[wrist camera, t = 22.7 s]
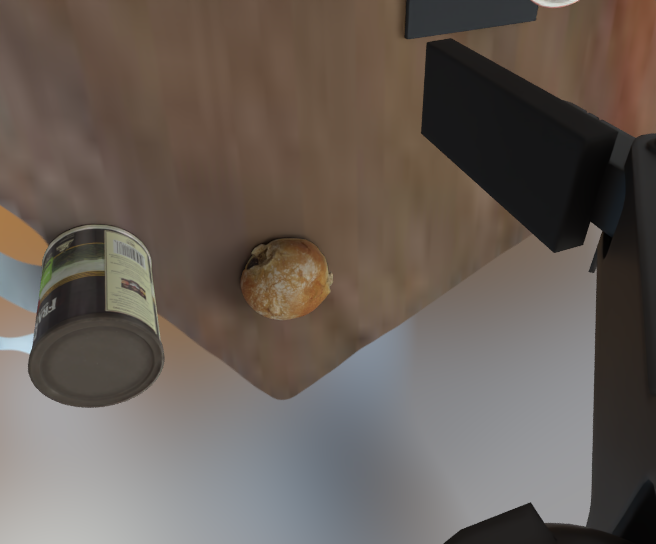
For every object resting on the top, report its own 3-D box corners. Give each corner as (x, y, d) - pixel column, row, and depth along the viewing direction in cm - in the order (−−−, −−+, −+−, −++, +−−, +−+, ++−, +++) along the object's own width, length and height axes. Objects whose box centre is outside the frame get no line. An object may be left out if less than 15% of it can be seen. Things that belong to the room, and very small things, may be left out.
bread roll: (278, 210, 62) (268, 233, 54) (349, 259, 64) (350, 287, 56) (233, 274, 65) (218, 303, 58) (302, 319, 67) (297, 352, 60)
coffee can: (35, 300, 54) (20, 408, 44) (49, 214, 50) (36, 312, 39) (140, 310, 59) (149, 409, 49) (162, 233, 55) (177, 324, 44)
